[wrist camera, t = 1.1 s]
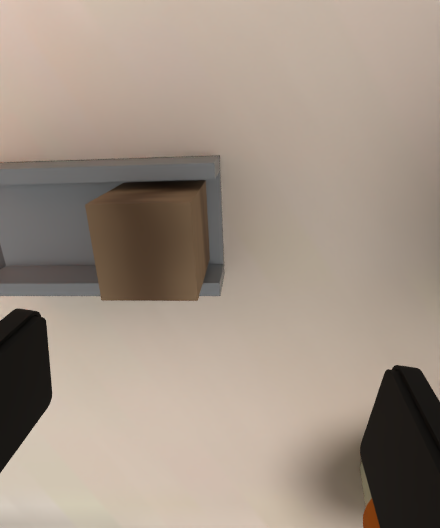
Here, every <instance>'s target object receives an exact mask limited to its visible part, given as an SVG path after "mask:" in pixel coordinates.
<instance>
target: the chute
mask: <svg viewBox="0 0 440 528" xmlns="http://www.w3.org/2000/svg"><path fill="white" fill-rule="evenodd" d="M202 180H206V194H207V213H208V232H209V250H210V260H209V264H208V267H207V271H206V274H205V277H204V281H203V284H202V288H201V291H200V294H199V296H220V295H221V289H222V284H223V278H224V252H223V227H222V201H221V175H220V156H191V157H160V158H129V159H98V160H67V161H36V162H6V163H0V245H1V249H2V253H3V256H4V260H5V264H6V266H5V267H3V268H2V269H0V296H101V295H100V289H99V283H98V278H97V272H96V266H95V260H94V255H93V249H92V243H91V237H90V231H89V226H88V220H87V214H86V208H85V204H87V203H89V202H90V201H92V200H94V199H96V198H98V197H99V196H101V195H103V194H105V193H106V192H108V191H110V190H112V189H114V188H115V187H117V186H119V185H121V184H122V183H127V182H164V181H202Z"/></svg>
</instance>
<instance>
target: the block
mask: <svg viewBox="0 0 440 528" xmlns="http://www.w3.org/2000/svg"><path fill="white" fill-rule="evenodd" d="M85 208H86V214H87V220H88V226H89V231H90V237H91V243H92V249H93V255H94V260H95V266H96V272H97V278H98V283H99V289H100V295H101V300H163V301H198V298H199V294H200V291H201V288H202V284H203V281H204V277H205V274H206V271H207V267H208V264H209V260H210V250H209V232H208V213H207V194H206V180H202V181H164V182H127V183H122V184H121V185H119V186H117V187H115V188H114V189H112V190H110V191H108V192H106V193H105V194H103V195H101V196H99V197H98V198H96V199H94V200H92V201H90V202H89V203H87V204H85Z"/></svg>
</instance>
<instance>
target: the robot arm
mask: <svg viewBox="0 0 440 528" xmlns="http://www.w3.org/2000/svg"><path fill="white" fill-rule="evenodd" d="M51 398H52V386H51V374H50V362H49V350H48V338H47V326H46V320H45V318H43V317H41V315H40V313H39V312H37V311H31V310H25V309H15V310H13V311H12V312H11V313H9V314H8V315H7V316H6V317H5V318H3V319H2V320H1V321H0V473H1V471H2V470H3V469H4V467H5V466H6V464H7V463H8V462H9V460H10V459H11V457H12V456H13V455H14V453H15V452H16V451H17V449H18V448H19V446H20V445H21V444H22V442H23V441H24V439H25V438H26V437H27V435H28V434H29V433H30V431H31V430H32V428H33V427H34V426H35V424H36V423H37V421H38V420H39V419H40V417H41V416H42V415H43V413H44V412H45V410H46V409H47V408H48V406H49V404H50V402H51ZM360 455H361V460H362V464H363V468H364V471H365V475H366V478H367V482H368V486H369V489H370V493H371V497H372V500H373V504H374V508H375V511H376V515H377V519H378V522H379V526H380V528H440V402H439V400H438V398H437V397H436V395H435V393H434V392H433V390H432V388H431V386H430V385H429V383H428V381H427V380H426V378H425V376H424V375H423V373H422V371H421V370H420V369H418V368H413V367H406V366H399V365H395V366H394V367H393V368H392V370H389V369H388V370H386V371H385V374H384V376H383V379H382V382H381V385H380V388H379V391H378V394H377V397H376V400H375V403H374V406H373V409H372V412H371V415H370V418H369V421H368V424H367V427H366V430H365V433H364V436H363V439H362V442H361V447H360Z"/></svg>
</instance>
